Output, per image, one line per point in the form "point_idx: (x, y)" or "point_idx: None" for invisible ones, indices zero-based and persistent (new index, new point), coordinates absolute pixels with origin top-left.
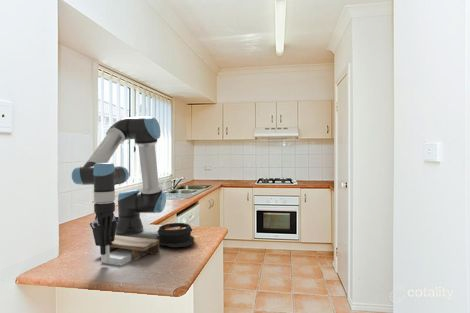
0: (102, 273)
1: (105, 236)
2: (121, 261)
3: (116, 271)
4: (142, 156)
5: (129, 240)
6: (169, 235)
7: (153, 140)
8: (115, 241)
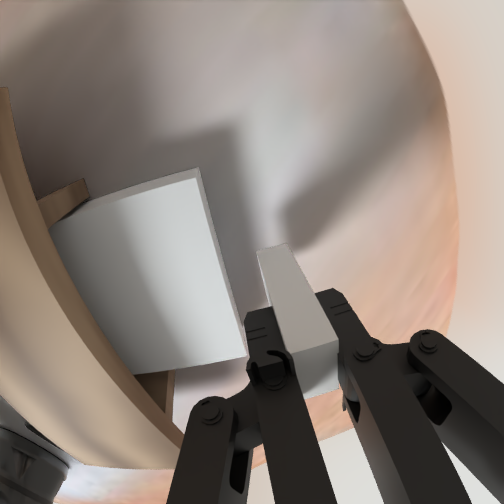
0: (364, 157)
1: (407, 451)
2: (192, 174)
3: (297, 95)
4: None
5: (21, 376)
6: None
7: None
8: (109, 427)
